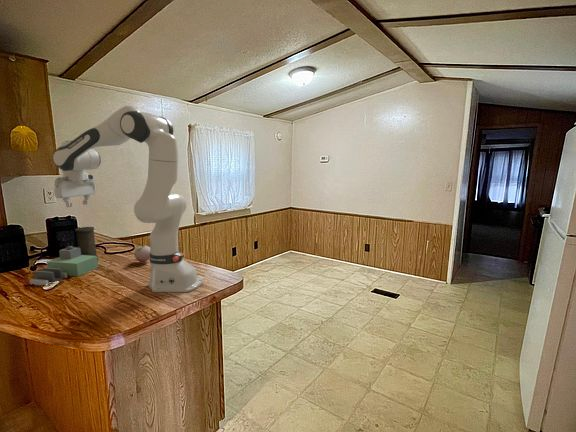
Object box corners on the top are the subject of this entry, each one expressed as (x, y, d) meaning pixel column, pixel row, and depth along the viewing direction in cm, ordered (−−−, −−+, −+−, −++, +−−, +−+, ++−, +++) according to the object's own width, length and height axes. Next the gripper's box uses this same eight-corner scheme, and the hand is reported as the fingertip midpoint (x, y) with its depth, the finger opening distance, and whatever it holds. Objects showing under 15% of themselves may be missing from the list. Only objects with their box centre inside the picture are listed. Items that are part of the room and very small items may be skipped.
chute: (46, 278, 141) (44, 267, 140) (63, 279, 139) (61, 268, 138) (35, 282, 136) (33, 271, 135) (53, 283, 134) (51, 272, 133)
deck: (98, 267, 155) (96, 245, 153) (54, 286, 131) (51, 260, 129) (70, 265, 157) (67, 243, 155) (22, 283, 134) (18, 258, 132)
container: (100, 261, 164) (97, 228, 161) (81, 265, 157) (77, 230, 154) (94, 258, 170) (91, 225, 167) (75, 261, 163) (71, 228, 160)
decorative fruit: (149, 265, 159) (148, 246, 158) (132, 265, 158) (131, 246, 156) (155, 259, 168) (153, 241, 167) (138, 259, 167) (137, 241, 166)
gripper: (60, 177, 135) (64, 209, 138) (97, 175, 155) (99, 203, 157) (48, 177, 136) (52, 208, 139) (85, 175, 156) (88, 202, 159)
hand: (77, 205), depth 148 cm, fingers open, 8 cm apart
